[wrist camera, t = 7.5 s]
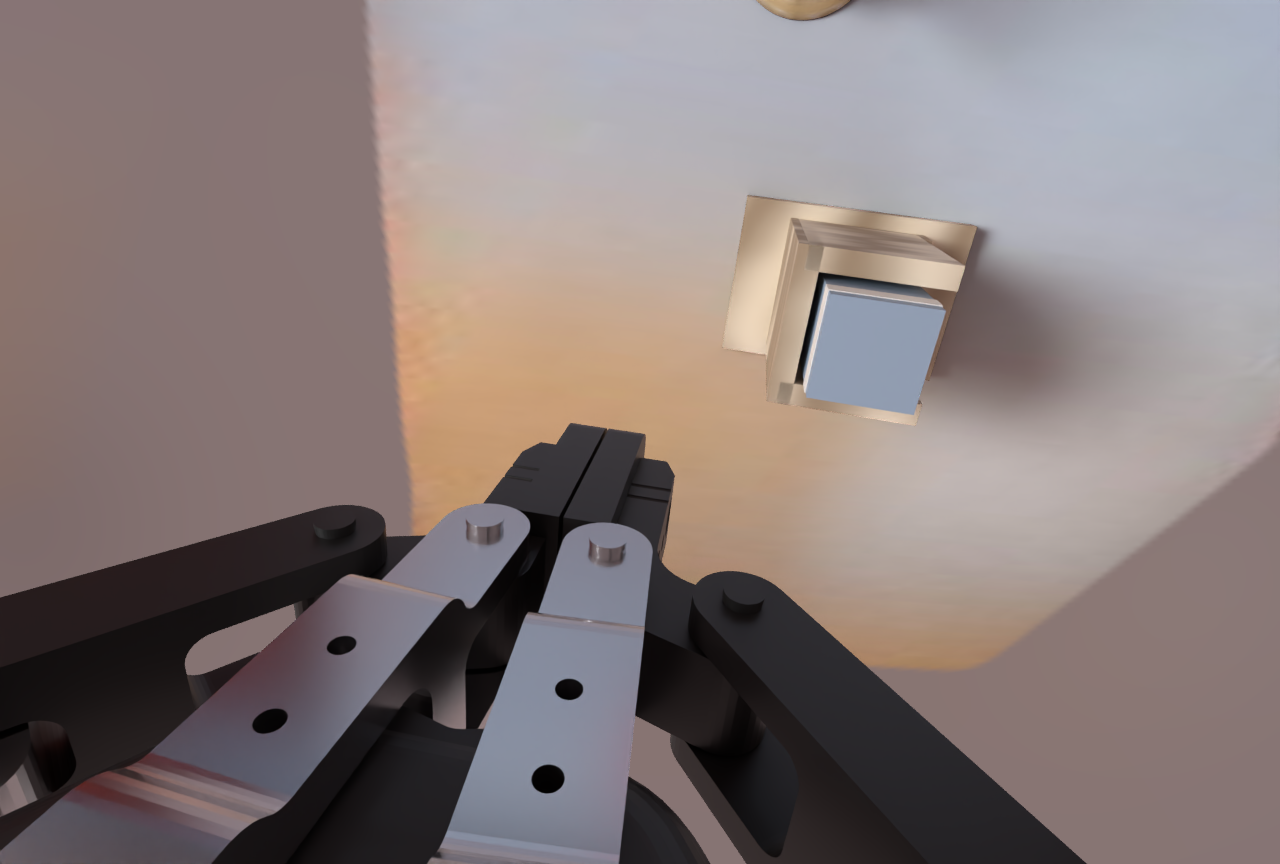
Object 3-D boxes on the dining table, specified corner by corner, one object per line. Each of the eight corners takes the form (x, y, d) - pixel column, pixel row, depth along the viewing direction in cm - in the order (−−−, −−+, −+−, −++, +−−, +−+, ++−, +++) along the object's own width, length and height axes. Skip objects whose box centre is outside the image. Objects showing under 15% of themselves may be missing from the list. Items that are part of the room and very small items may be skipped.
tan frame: (971, 224, 42) (1049, 256, 30) (925, 374, 46) (978, 452, 34) (747, 195, 43) (741, 215, 32) (722, 343, 47) (709, 407, 36)
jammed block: (892, 258, 42) (947, 309, 29) (871, 336, 44) (914, 416, 31) (810, 246, 42) (829, 292, 30) (793, 324, 44) (805, 398, 32)
